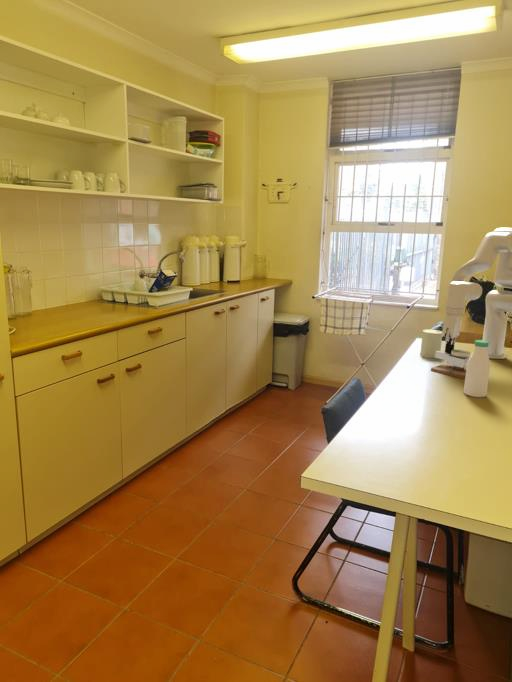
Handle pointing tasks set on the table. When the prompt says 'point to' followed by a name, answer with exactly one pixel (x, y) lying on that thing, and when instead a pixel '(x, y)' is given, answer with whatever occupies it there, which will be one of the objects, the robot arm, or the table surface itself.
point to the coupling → (454, 360)
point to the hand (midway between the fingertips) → (448, 352)
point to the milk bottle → (477, 371)
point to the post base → (450, 370)
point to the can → (431, 342)
